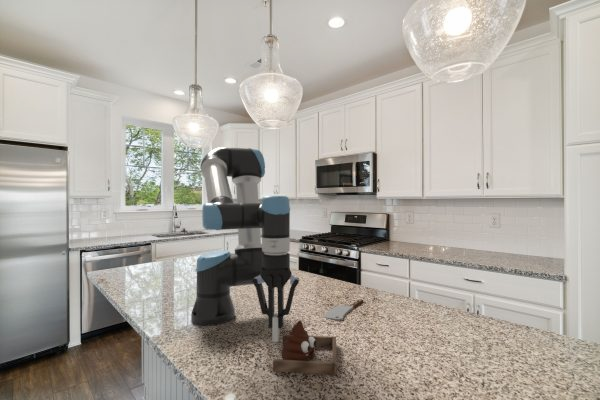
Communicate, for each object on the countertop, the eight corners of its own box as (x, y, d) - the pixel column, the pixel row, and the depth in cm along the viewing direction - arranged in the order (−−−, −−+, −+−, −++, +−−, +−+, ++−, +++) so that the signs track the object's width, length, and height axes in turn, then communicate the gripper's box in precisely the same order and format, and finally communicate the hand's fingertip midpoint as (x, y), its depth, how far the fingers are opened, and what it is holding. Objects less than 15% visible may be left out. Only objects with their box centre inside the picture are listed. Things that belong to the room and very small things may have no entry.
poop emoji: (295, 345, 85) (295, 312, 85) (321, 353, 80) (321, 318, 81) (274, 360, 77) (274, 324, 77) (302, 370, 72) (301, 332, 72)
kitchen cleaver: (346, 297, 126) (368, 300, 120) (347, 299, 126) (368, 302, 120) (315, 315, 107) (339, 320, 101) (315, 318, 107) (340, 323, 101)
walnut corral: (272, 371, 72) (272, 360, 72) (283, 342, 86) (283, 334, 86) (336, 375, 70) (336, 364, 70) (336, 345, 84) (336, 336, 84)
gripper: (248, 254, 76) (248, 345, 76) (298, 255, 75) (298, 347, 75) (255, 250, 84) (256, 332, 84) (301, 250, 83) (301, 334, 82)
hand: (276, 339), depth 79 cm, fingers closed
